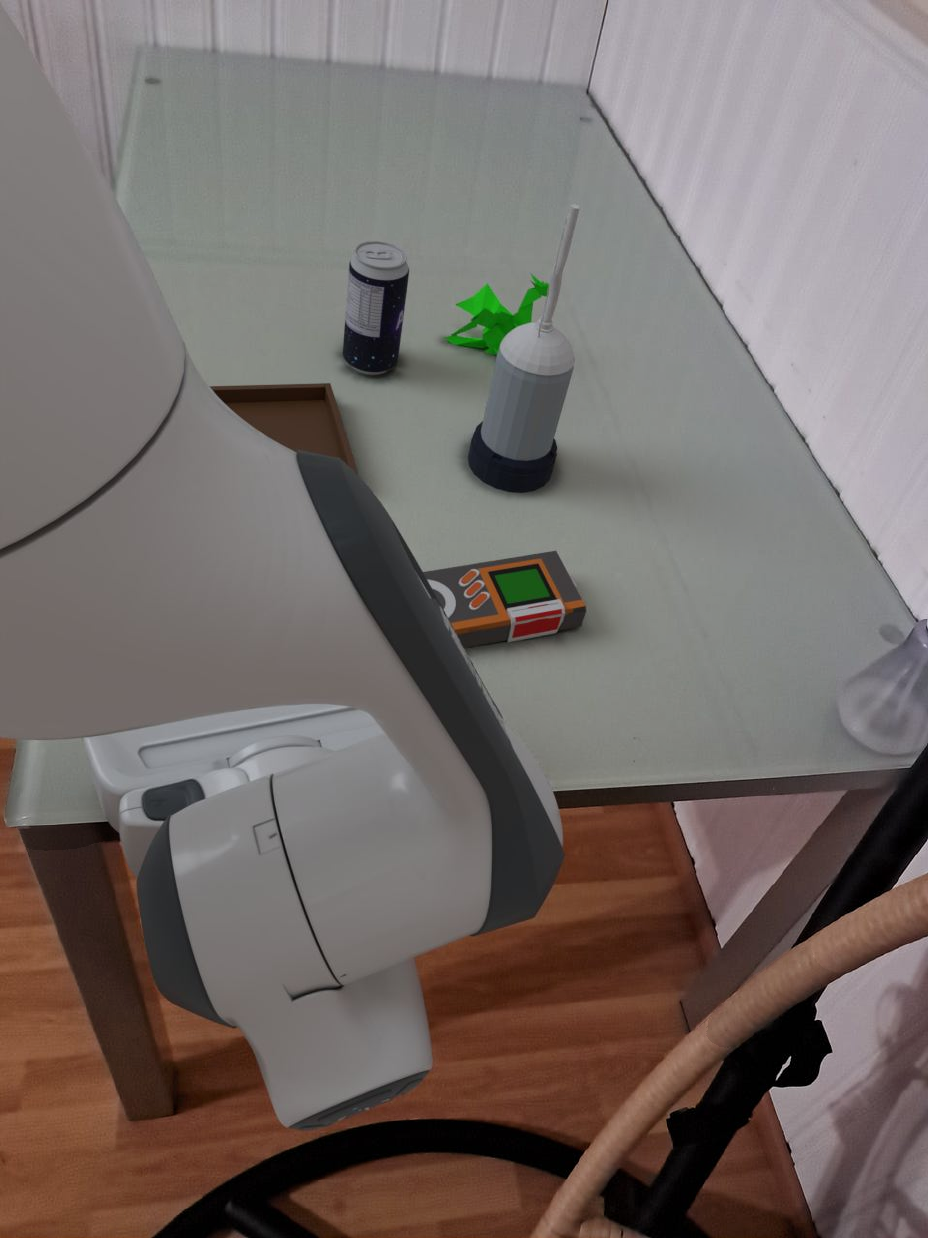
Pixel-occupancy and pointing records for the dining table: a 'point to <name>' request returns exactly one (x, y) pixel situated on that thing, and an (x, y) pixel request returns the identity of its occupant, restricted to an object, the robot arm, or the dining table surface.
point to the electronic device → (508, 598)
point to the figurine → (495, 317)
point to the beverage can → (375, 307)
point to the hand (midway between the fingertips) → (238, 633)
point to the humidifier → (526, 396)
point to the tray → (292, 416)
